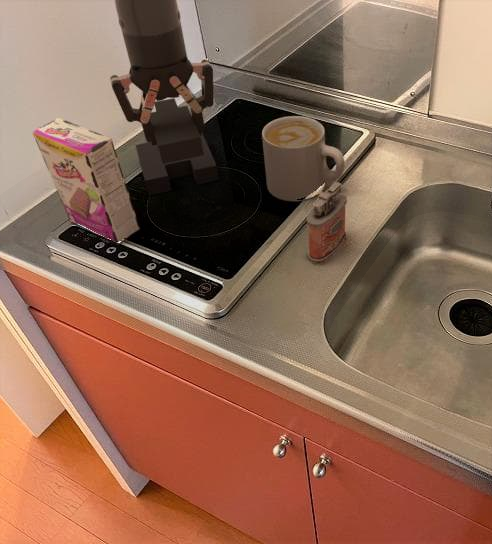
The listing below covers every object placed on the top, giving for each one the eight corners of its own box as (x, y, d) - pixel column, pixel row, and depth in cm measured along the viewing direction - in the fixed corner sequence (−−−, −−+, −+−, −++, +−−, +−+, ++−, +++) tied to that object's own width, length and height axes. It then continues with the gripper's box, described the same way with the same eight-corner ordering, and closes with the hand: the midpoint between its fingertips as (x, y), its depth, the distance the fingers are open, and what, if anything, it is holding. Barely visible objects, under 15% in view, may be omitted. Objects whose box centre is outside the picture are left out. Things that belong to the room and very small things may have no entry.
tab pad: (162, 164, 81) (158, 145, 79) (149, 121, 90) (144, 103, 88) (204, 155, 83) (200, 137, 80) (186, 113, 92) (183, 96, 89)
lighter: (322, 267, 82) (321, 212, 75) (303, 259, 83) (300, 204, 76) (351, 236, 87) (352, 182, 80) (332, 229, 88) (332, 175, 81)
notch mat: (148, 195, 96) (144, 180, 93) (139, 159, 104) (135, 144, 102) (219, 180, 98) (216, 165, 96) (204, 146, 107) (201, 131, 105)
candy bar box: (68, 223, 90) (29, 131, 79) (92, 207, 93) (58, 115, 82) (118, 247, 86) (84, 153, 75) (141, 229, 89) (113, 136, 78)
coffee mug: (255, 189, 96) (249, 136, 89) (289, 161, 102) (285, 110, 95) (322, 215, 91) (321, 161, 84) (353, 184, 97) (355, 131, 90)
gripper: (199, 4, 77) (217, 117, 89) (90, 20, 74) (123, 135, 86) (212, 23, 72) (229, 140, 84) (95, 42, 69) (130, 161, 80)
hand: (176, 137), depth 85 cm, fingers closed on tab pad, 6 cm apart
